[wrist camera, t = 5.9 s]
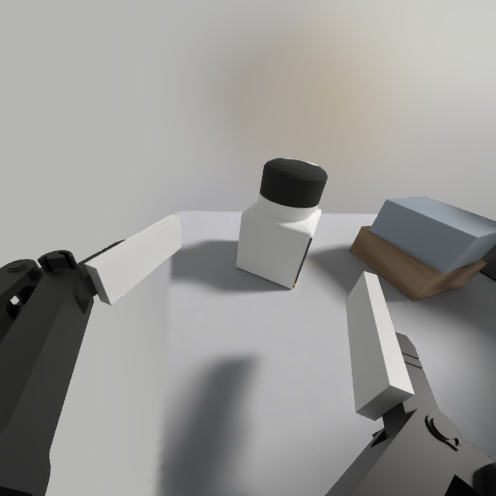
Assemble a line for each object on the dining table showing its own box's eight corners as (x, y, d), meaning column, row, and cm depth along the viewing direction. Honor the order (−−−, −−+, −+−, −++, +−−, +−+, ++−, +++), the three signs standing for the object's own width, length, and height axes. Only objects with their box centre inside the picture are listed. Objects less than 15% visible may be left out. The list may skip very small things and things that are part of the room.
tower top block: (406, 224, 31) (425, 196, 28) (480, 259, 24) (512, 227, 22) (369, 230, 27) (386, 199, 24) (443, 274, 20) (477, 237, 18)
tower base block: (393, 246, 34) (408, 223, 31) (459, 289, 26) (487, 263, 24) (348, 252, 30) (361, 226, 28) (410, 303, 23) (436, 274, 20)
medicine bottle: (292, 291, 21) (334, 178, 15) (234, 267, 23) (247, 159, 17) (304, 257, 27) (338, 164, 20) (257, 240, 29) (273, 151, 22)
